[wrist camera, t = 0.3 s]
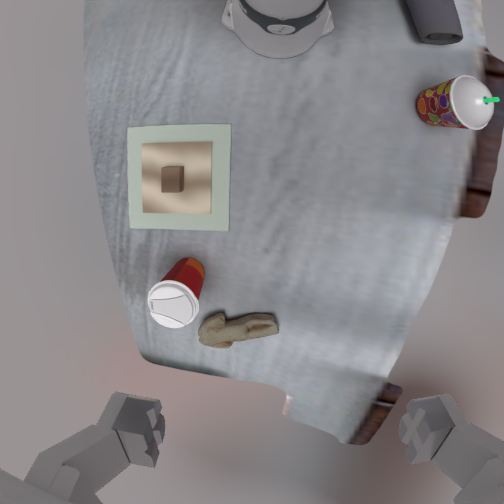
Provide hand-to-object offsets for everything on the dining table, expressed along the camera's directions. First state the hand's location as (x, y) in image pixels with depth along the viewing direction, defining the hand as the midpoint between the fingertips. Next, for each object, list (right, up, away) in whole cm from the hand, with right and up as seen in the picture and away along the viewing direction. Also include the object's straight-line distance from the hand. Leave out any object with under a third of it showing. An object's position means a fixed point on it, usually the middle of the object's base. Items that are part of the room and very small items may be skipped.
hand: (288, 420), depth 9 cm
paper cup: (-12, +2, +49) cm, 50 cm away
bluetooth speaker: (+30, +54, +30) cm, 68 cm away
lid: (-14, +18, +43) cm, 48 cm away
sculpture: (-4, -8, +52) cm, 53 cm away
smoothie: (+31, +31, +37) cm, 58 cm away
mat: (-14, +18, +43) cm, 49 cm away
